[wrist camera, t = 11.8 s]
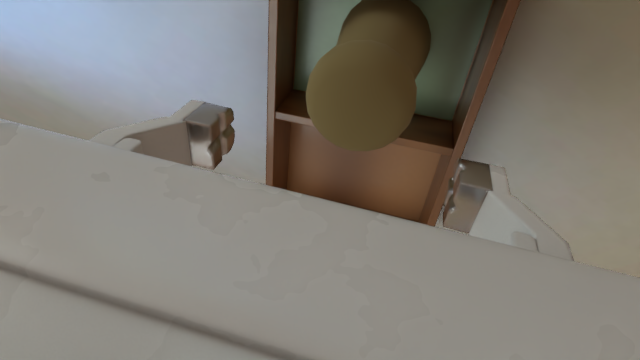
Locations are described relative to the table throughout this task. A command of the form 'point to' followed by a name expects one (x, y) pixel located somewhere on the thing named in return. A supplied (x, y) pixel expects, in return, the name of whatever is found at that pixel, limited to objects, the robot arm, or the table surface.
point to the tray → (425, 126)
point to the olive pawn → (370, 75)
